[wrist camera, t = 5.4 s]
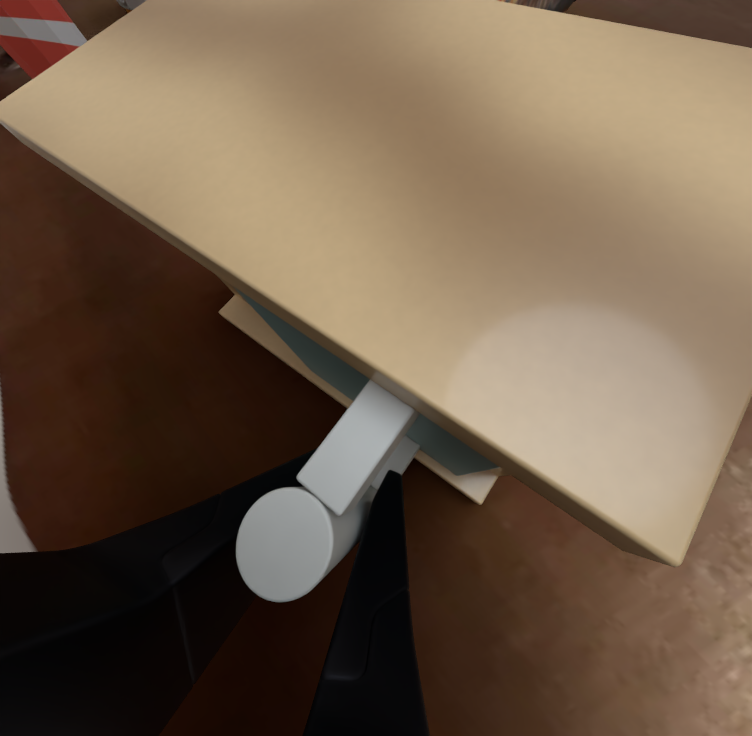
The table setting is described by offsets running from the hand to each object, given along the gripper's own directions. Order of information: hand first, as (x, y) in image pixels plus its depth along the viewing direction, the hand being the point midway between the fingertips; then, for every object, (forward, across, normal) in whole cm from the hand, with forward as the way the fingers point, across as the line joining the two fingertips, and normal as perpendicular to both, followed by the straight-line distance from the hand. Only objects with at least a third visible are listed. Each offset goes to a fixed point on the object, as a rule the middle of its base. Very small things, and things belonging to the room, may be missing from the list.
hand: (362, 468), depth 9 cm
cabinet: (+10, +3, -1) cm, 11 cm away
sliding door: (+4, +2, +3) cm, 6 cm away
